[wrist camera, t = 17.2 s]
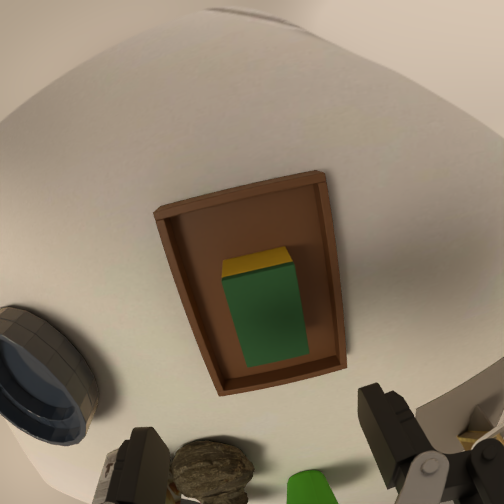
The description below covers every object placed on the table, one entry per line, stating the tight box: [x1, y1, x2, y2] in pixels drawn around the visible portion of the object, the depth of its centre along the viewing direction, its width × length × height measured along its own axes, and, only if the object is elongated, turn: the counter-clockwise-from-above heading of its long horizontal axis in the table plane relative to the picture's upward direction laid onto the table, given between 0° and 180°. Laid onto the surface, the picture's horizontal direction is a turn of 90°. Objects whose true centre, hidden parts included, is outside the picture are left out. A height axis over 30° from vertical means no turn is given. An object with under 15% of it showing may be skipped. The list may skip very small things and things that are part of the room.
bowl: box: [0, 307, 99, 446], centre depth 23 cm, size 15×15×5 cm
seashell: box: [162, 437, 255, 504], centre depth 26 cm, size 11×12×10 cm
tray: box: [153, 170, 347, 396], centre depth 22 cm, size 16×11×2 cm
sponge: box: [221, 246, 310, 368], centre depth 21 cm, size 7×4×4 cm, turn 13°
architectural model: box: [416, 357, 504, 454], centre depth 27 cm, size 21×25×14 cm
